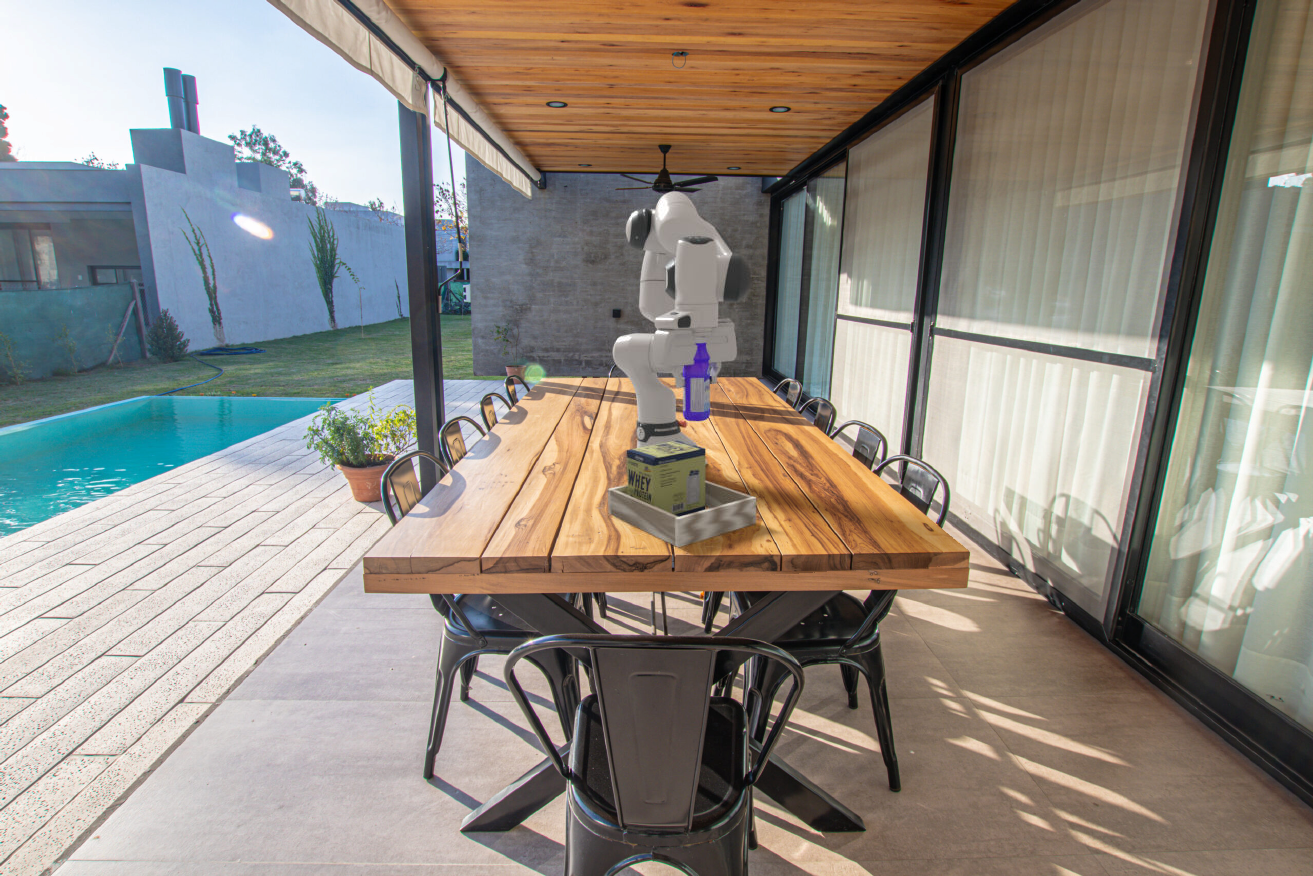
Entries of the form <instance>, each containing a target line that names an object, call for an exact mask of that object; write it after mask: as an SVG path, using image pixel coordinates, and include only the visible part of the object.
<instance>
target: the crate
mask: <svg viewBox="0 0 1313 876" xmlns="http://www.w3.org/2000/svg"><path fill="white" fill-rule="evenodd" d="M607 501H608V502H607V504H608V514H609V515H611V516H613V517H615V518H617V519H619V520H621V521H623V522H625V523H627V524H629V525H631V526H633V527H636V528H637V529H640V530H642V531H643V532H646V533H648V534H649V535H652V536H654V537H655V538H658V539H660V540H662V541H665V542H666V543H669V545H672V546H675V547H676V548H681V547H684V546H688V545H691V544H695V543H696V542H701V541H704V540H707V539H709V538H714V537H717V536H719V535H722V534H723V535H724V534H726V533H730V532H733V531H736V530H739V529H742V528H746V527H748V526H749V527H750V526H753V525H755V524H757V523H756V522H757V497H755V496H752V495H749V494H747V493H743V492H740V491H739V490H736V489H735V490H734V489H732V488H729V487H725V486H723V485H720V484H717V483H714V482H710V481H708V480H705V510H702V511H699V512H695V513H691V514H688V515H684V516H680V517H678V516H676V515H673V514H671V513H669V512H666V511H664V510H662V509H659V508H657V507H655V506H652V505H650V504H648V503H645V502H643V501H641V500H638V499H636V498H633V497H631V496H629V495H628V484H624V485H619V486H615V487H610V488H607ZM706 507H707V509H706Z"/></svg>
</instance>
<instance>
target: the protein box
mask: <svg viewBox="0 0 1313 876" xmlns="http://www.w3.org/2000/svg"><path fill="white" fill-rule="evenodd" d="M705 460H706V448H705V447H701V446H698V445H697V446H695V445H691V444H688V443H684V442H681V441H672V442H667V443H662V444H657V445H652V446H647V447H641V448H637V447H636V448H631V449H626V467H627V468H626V474H627V475H626V476H627V478H626V479H627V480H626V481H627V485H628V495H629V496H631V497H633V498H636V499H638V500H641V501H643V502H645V503H648V504H650V505H652V506H655V507H657V508H659V509H662V510H664V511H666V512H669V513H671V514H673V515H676V516H678V517H680V516H684V515H688V514H691V513H695V512H699V511H702V510H706V506H705V481H706V465H705Z"/></svg>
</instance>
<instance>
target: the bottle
mask: <svg viewBox="0 0 1313 876" xmlns="http://www.w3.org/2000/svg"><path fill="white" fill-rule="evenodd" d="M695 345H697V351H696V354H695V357H694V358H693V360H694V364H693V365H684V367H683V372H682V377H683V379H686V387H683V388H682V417H683V418H684V419H685V420H684V421H688V422H703V421H706V420H708V419H709V417H710V415H711V401H710V400H711V399H710V397H711V396H710V395H711V391H710V390H711V389H710V388H711V387H710V385H711V384H710V371H711V367H710V363H709V360H710V356H709V354H708V352H707V349H706V337H696V342H695Z"/></svg>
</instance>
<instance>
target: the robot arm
mask: <svg viewBox="0 0 1313 876" xmlns="http://www.w3.org/2000/svg"><path fill="white" fill-rule="evenodd" d="M625 226H626V227H625V235H626V236H625V237H626V239H627V243H628V245H629V246H630V248H632V249H634V250H636V251H641V252H643V251H645V253H644V256H643V261H642V266H641V272H640V273H641V274H640V284H639V298H638V299H639V302H638V307H639V312H640V313H641V314H642V316H643V317H644V318H646V319H647V320H649V321H651V322H653V323H654V328H655V329H656V331H655V333H629V334H626V335H621V336H618V337H617V339H616V341H615V342H614V344H613V347H612V358H613V361H614V363H615V365H616V366H617V368H619V369H620V370H621V371H622V372H623V373H624V374H625V375H626V376H627V378H628V379H629V381H630V382H631V384H632V386H633V389H634V392H635V396H636V406H637V407H636V409H637V420H636V424H635V425H636V438H637V440H636V441H637V442H636V444H637V445H636V448H641V447H647V446H652V445H657V444H662V443H667V442H672V441H681V442H684V443H688V444H691V445H695V446H698V444H697V443H696V442H695V440H693V439H691V438H690V437H689V436H688V435H686V434H685V433H683V432H682V428H684V429H686V428H687V427H688V422H687V420H680V421H679V420H678V419H677V412H676V411H677V407H676V406H677V401H676V400H677V398H676V394H675V392H674V390H673V389H671V388H670V387H669V386H667V385H665V384H664V383H662V381H661V380H660V379H659V377H658V373H659V374H672V377H673V378H674V380H675V381H674V383H675V387H676V388H677V389H683V387H686V379H683V367H684V365H693V364H694V360H693V358H694V357H695V354H696V351H697V345H695V342H696V337H706V349H707V352H708V354H709V356H710V360H709V366H710V385H714V384H717V382H718V374H719V373H720V371H721V368H722V363H724V362H733V361H735V359H736V358H737V354H738V353H737V352H738V351H737V350H738V348H737V347H738V346H737V337H736V331H735V322H733V320H732V319H730V318H729V317H727V316H724V317H719V302H723V303H735V304H737V303H738V302H739V301H741V300H742V299H744V297H746V295H747V294H748V293H749V292H750V290H751V285H752V273H751V268H750V265H749V263H748V262H747V260H746V259H745V257H743V255H741V254H739V253H738V252H737V251H736V250H735V249H734V247H733V245H732V244H731V243H730V241H729V240H728V239H727V237H726V236H725V234H724V232H722V231H721V229H720V228H718V227H717V226H715V225H714V224H713V225H712V224H711V223H710V222H708V221H707V220H706V218H705V217H704V216H702V215H700V214H698V210H697V208H696V206H695V205H694V204H693V201H692V200H691V199H690V198H689V197H688V196H687V195H686V194H684V193H682V192H680V191H669V192H666V193H665V194H664V195H662V196H661V197H660V198H659V200H658V202H657V203H656V206H655V209H654V208H653V209H650V208H648V207H644V208H640V209H635V210H634V211H632V213H630V215H629V218H628V219H627V222H626V225H625ZM706 465H708V461H707V459H705V466H706Z"/></svg>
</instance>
